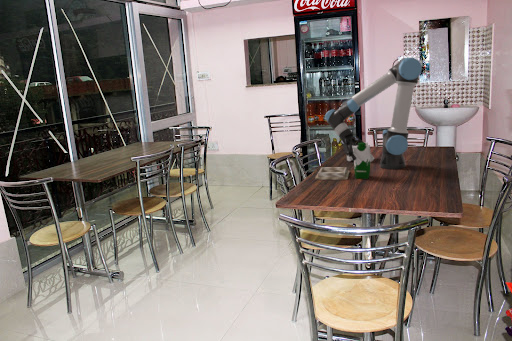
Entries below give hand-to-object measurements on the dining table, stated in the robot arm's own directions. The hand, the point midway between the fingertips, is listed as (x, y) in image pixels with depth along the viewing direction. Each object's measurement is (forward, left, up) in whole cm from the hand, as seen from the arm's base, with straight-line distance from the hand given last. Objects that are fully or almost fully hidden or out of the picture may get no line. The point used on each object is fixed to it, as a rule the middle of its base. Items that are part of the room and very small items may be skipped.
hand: (366, 161), depth 240 cm
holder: (+19, -5, -9) cm, 22 cm away
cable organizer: (+7, -50, -10) cm, 51 cm away
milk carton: (+2, -2, -9) cm, 10 cm away
